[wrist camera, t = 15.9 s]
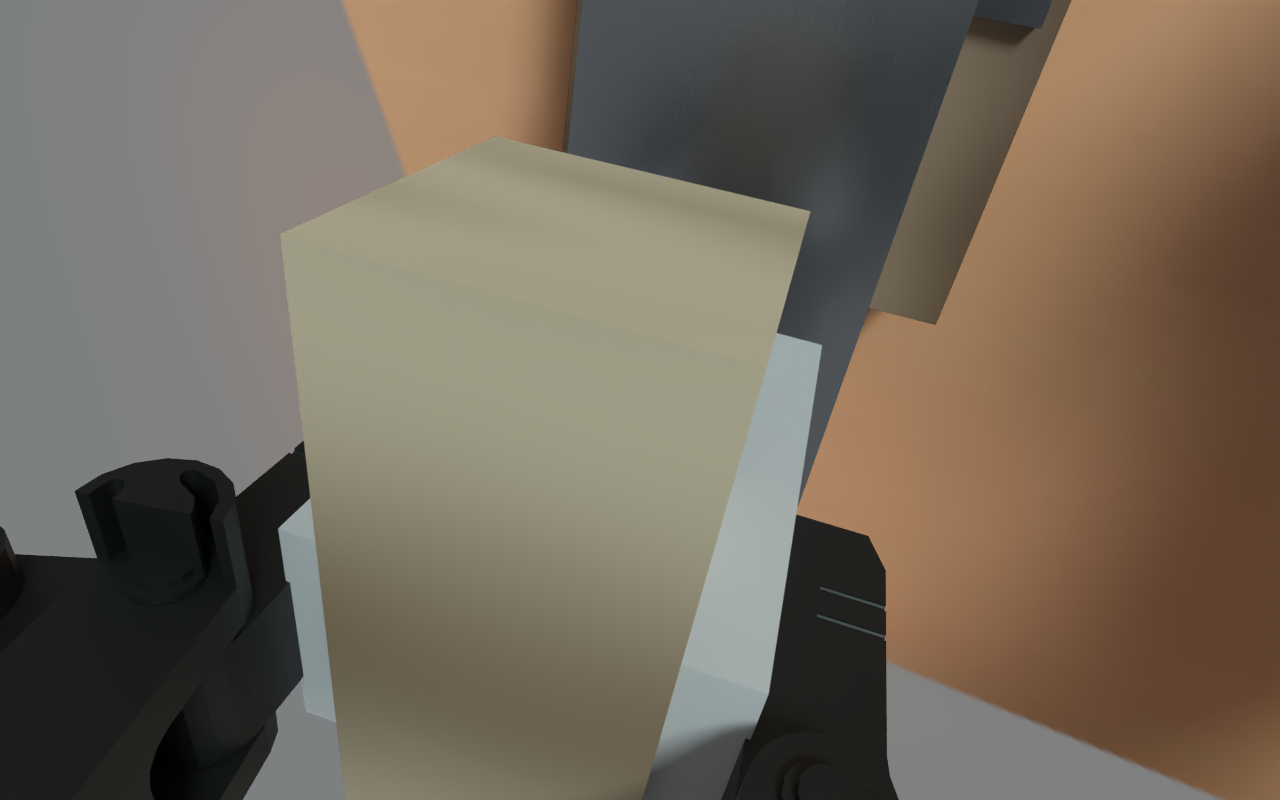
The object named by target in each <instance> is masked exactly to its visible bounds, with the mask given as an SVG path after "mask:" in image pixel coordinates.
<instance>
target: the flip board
mask: <svg viewBox="0 0 1280 800" xmlns="http://www.w3.org/2000/svg"><path fill="white" fill-rule="evenodd" d="M582 2H583V0H577V8H576V18H575V28H574V39H573V49H572V60H571V70H570V80H569V91H568V101H567V112H566V122H565V132H564V143H563V152H564V153H568V142H569V132H570V122H571V112H572V102H573V92H574V82H575V72H576V62H577V52H578V42H579V32H580V22H581V12H582ZM1070 2H1071V0H979V1H978V4H977V7H976V9H975V12H974V15H973V18H972V21H971V23H970V26H969V29H968V32H967V35H966V37H965V40H964V43H963V46H962V49H961V51H960V54H959V57H958V60H957V63H956V65H955V68H954V71H953V74H952V77H951V79H950V82H949V85H948V88H947V91H946V93H945V96H944V99H943V102H942V105H941V107H940V110H939V113H938V116H937V119H936V121H935V124H934V127H933V130H932V133H931V135H930V138H929V141H928V144H927V147H926V149H925V152H924V155H923V158H922V161H921V163H920V166H919V169H918V172H917V175H916V177H915V180H914V183H913V186H912V189H911V191H910V194H909V197H908V200H907V203H906V205H905V208H904V211H903V214H902V217H901V219H900V222H899V225H898V228H897V231H896V233H895V236H894V239H893V242H892V245H891V247H890V250H889V253H888V256H887V259H886V261H885V264H884V267H883V270H882V273H881V275H880V278H879V281H878V284H877V287H876V289H875V292H874V295H873V298H872V301H871V303H870V306H869V308H871V309H875V310H879V311H883V312H887V313H891V314H895V315H899V316H903V317H907V318H910V319H914V320H918V321H922V322H926V323H930V324H934V325H936V323H937V321H938V318H939V316H940V313H941V311H942V309H943V306H944V304H945V301H946V299H947V297H948V294H949V292H950V289H951V287H952V285H953V282H954V280H955V278H956V275H957V273H958V270H959V268H960V266H961V263H962V261H963V258H964V256H965V254H966V251H967V249H968V246H969V244H970V242H971V239H972V237H973V234H974V232H975V230H976V227H977V225H978V222H979V220H980V218H981V215H982V213H983V210H984V208H985V206H986V203H987V201H988V198H989V196H990V194H991V191H992V189H993V187H994V184H995V182H996V179H997V177H998V175H999V172H1000V170H1001V167H1002V165H1003V163H1004V160H1005V158H1006V155H1007V153H1008V151H1009V148H1010V146H1011V143H1012V141H1013V139H1014V136H1015V134H1016V131H1017V129H1018V127H1019V124H1020V122H1021V119H1022V117H1023V115H1024V112H1025V110H1026V107H1027V105H1028V103H1029V100H1030V98H1031V96H1032V93H1033V91H1034V88H1035V86H1036V84H1037V81H1038V79H1039V76H1040V74H1041V72H1042V69H1043V67H1044V64H1045V62H1046V60H1047V57H1048V55H1049V52H1050V50H1051V48H1052V45H1053V43H1054V40H1055V38H1056V36H1057V33H1058V31H1059V28H1060V26H1061V24H1062V21H1063V19H1064V17H1065V14H1066V12H1067V9H1068V7H1069V5H1070Z"/></svg>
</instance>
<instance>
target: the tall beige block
mask: <svg viewBox="0 0 1280 800" xmlns="http://www.w3.org/2000/svg"><path fill="white" fill-rule="evenodd" d="M978 1H979V0H583V2H582V12H581V22H580V32H579V42H578V52H577V62H576V72H575V82H574V92H573V102H572V112H571V122H570V132H569V142H568V153H564V152H559V151H555V150H551V149H547V148H543V147H538V146H534V145H530V144H526V143H522V142H517V141H513V140H509V139H505V138H501V137H496V136H494V137H492V138H490V139H488V140H485V141H483V142H481V143H479V144H477V145H474V146H472V147H470V148H468V149H466V150H463V151H461V152H459V153H457V154H455V155H453V156H450V157H448V158H446V159H444V160H442V161H439V162H437V163H435V164H433V165H431V166H428V167H426V168H424V169H422V170H420V171H418V172H415V173H413V174H411V175H409V176H407V177H404V178H402V179H400V180H398V181H396V182H393V183H391V184H389V185H387V186H385V187H383V188H381V189H378V190H376V191H374V192H372V193H369V194H367V195H365V196H363V197H361V198H358V199H356V200H354V201H352V202H350V203H348V204H345V205H343V206H341V207H339V208H337V209H334V210H332V211H330V212H328V213H326V214H323V215H321V216H319V217H317V218H315V219H313V220H310V221H308V222H306V223H304V224H302V225H299V226H297V227H295V228H293V229H291V230H288V231H286V232H284V233H282V234H280V238H281V247H282V255H283V264H284V272H285V281H286V290H287V298H288V307H289V316H290V324H291V333H292V342H293V351H294V360H295V368H296V377H297V386H298V394H299V403H300V412H301V421H302V429H303V437H304V447H305V455H306V464H307V473H308V482H309V490H310V499H311V508H312V516H313V525H314V534H315V543H316V551H317V560H318V569H319V577H320V586H321V595H322V604H323V612H324V621H325V630H326V638H327V647H328V656H329V664H330V673H331V682H332V691H333V699H334V708H335V717H336V725H337V733H338V743H339V751H340V760H341V769H342V778H343V786H344V795H345V800H642V799H643V795H644V792H645V788H646V785H647V782H648V778H649V775H650V771H651V768H652V764H653V761H654V757H655V754H656V750H657V747H658V743H659V740H660V736H661V733H662V729H663V726H664V723H665V719H666V716H667V712H668V709H669V705H670V702H671V698H672V695H673V691H674V688H675V684H676V681H677V677H678V674H679V670H680V667H681V664H682V660H683V657H684V653H685V650H686V646H687V643H688V639H689V636H690V632H691V629H692V625H693V622H694V618H695V615H696V611H697V608H698V605H699V601H700V598H701V594H702V591H703V587H704V584H705V580H706V577H707V573H708V570H709V566H710V563H711V559H712V556H713V552H714V549H715V546H716V542H717V539H718V535H719V532H720V528H721V525H722V521H723V518H724V514H725V511H726V507H727V504H728V500H729V497H730V493H731V490H732V487H733V483H734V480H735V476H736V473H737V469H738V466H739V462H740V459H741V455H742V452H743V448H744V445H745V441H746V438H747V434H748V431H749V428H750V424H751V421H752V417H753V414H754V410H755V407H756V403H757V400H758V396H759V393H760V389H761V386H762V382H763V379H764V375H765V372H766V369H767V365H768V361H769V358H770V354H771V351H772V347H773V344H774V340H775V336H776V333H778V334H782V335H786V336H790V337H793V338H797V339H801V340H805V341H809V342H812V343H816V344H820V345H822V350H821V356H820V363H819V369H818V376H817V382H816V389H815V395H814V402H813V408H812V415H811V421H810V428H809V434H808V441H807V447H806V454H805V460H804V467H803V473H802V480H801V486H800V493H799V499H798V505H799V502H800V499H801V497H802V494H803V491H804V488H805V485H806V483H807V480H808V477H809V474H810V471H811V469H812V466H813V463H814V460H815V457H816V455H817V452H818V449H819V446H820V443H821V441H822V438H823V435H824V432H825V429H826V427H827V424H828V421H829V418H830V415H831V413H832V410H833V407H834V404H835V401H836V399H837V396H838V393H839V390H840V387H841V385H842V382H843V379H844V376H845V373H846V371H847V368H848V365H849V362H850V359H851V357H852V354H853V351H854V348H855V345H856V343H857V340H858V337H859V334H860V331H861V329H862V326H863V323H864V320H865V317H866V315H867V312H868V309H869V306H870V303H871V301H872V298H873V295H874V292H875V289H876V287H877V284H878V281H879V278H880V275H881V273H882V270H883V267H884V264H885V261H886V259H887V256H888V253H889V250H890V247H891V245H892V242H893V239H894V236H895V233H896V231H897V228H898V225H899V222H900V219H901V217H902V214H903V211H904V208H905V205H906V203H907V200H908V197H909V194H910V191H911V189H912V186H913V183H914V180H915V177H916V175H917V172H918V169H919V166H920V163H921V161H922V158H923V155H924V152H925V149H926V147H927V144H928V141H929V138H930V135H931V133H932V130H933V127H934V124H935V121H936V119H937V116H938V113H939V110H940V107H941V105H942V102H943V99H944V96H945V93H946V91H947V88H948V85H949V82H950V79H951V77H952V74H953V71H954V68H955V65H956V63H957V60H958V57H959V54H960V51H961V49H962V46H963V43H964V40H965V37H966V35H967V32H968V29H969V26H970V23H971V21H972V18H973V15H974V12H975V9H976V7H977V4H978ZM797 508H798V506H797Z"/></svg>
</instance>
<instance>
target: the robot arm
mask: <svg viewBox="0 0 1280 800" xmlns="http://www.w3.org/2000/svg"><path fill="white" fill-rule="evenodd" d="M821 350H822V345H820V344H816V343H812V342H809V341H805V340H801V339H797V338H793V337H790V336H786V335H782V334H778V333H776V336H775V340H774V344H773V347H772V351H771V354H770V358H769V361H768V365H767V369H766V372H765V375H764V379H763V382H762V386H761V389H760V393H759V396H758V400H757V403H756V407H755V410H754V414H753V417H752V421H751V424H750V428H749V431H748V434H747V438H746V441H745V445H744V448H743V452H742V455H741V459H740V462H739V466H738V469H737V473H736V476H735V480H734V483H733V487H732V490H731V493H730V497H729V500H728V504H727V507H726V511H725V514H724V518H723V521H722V525H721V528H720V532H719V535H718V539H717V542H716V546H715V549H714V552H713V556H712V559H711V563H710V566H709V570H708V573H707V577H706V580H705V584H704V587H703V591H702V594H701V598H700V601H699V605H698V608H697V611H696V615H695V618H694V622H693V625H692V629H691V632H690V636H689V639H688V643H687V646H686V650H685V653H684V657H683V660H682V664H681V667H680V670H679V674H678V677H677V681H676V684H675V688H674V691H673V695H672V698H671V702H670V705H669V709H668V712H667V716H666V719H665V723H664V726H663V729H662V733H661V736H660V740H659V743H658V747H657V750H656V754H655V757H654V761H653V764H652V768H651V771H650V775H649V778H648V782H647V785H646V788H645V792H644V795H643V799H642V800H899V799H898V797H897V794H896V792H895V789H894V786H893V784H892V781H891V778H890V775H889V767H888V760H887V726H886V725H887V721H886V720H887V719H886V718H887V716H886V641H884V639H885V635H886V612H885V611H884V609H885V605H886V570H885V568H884V566H883V564H882V562H881V560H880V558H879V556H878V554H877V553H876V551H875V549H874V547H873V545H872V543H871V541H870V539H869V537H868V536H866V535H863V534H859V533H856V532H853V531H849V530H846V529H843V528H839V527H836V526H833V525H829V524H826V523H823V522H819V521H816V520H813V519H809V518H806V517H803V516H799V515H796V512H797V506H798V499H799V493H800V486H801V480H802V473H803V467H804V460H805V454H806V447H807V441H808V434H809V428H810V421H811V415H812V408H813V402H814V395H815V389H816V382H817V376H818V369H819V363H820V356H821ZM75 493H76V496H77V499H78V502H79V505H80V508H81V511H82V514H83V517H84V520H85V523H86V526H87V529H88V532H89V534H90V537H91V540H92V544H93V547H94V550H95V552H96V555H97V558H77V557H58V556H38V555H19V554H18V555H17V554H14V552H13V549H12V547H11V545H10V542H9V540H8V538H7V535H6V533H5V530H3V528H2V527H0V800H243V798H244V796H245V795H246V793H247V791H248V790H249V787H250V786H251V784H252V783H253V781H254V779H255V777H256V776H257V774H258V772H259V771H260V769H261V767H262V766H263V763H264V762H265V760H266V759H267V757H268V755H269V753H270V752H271V749H272V746H273V743H274V740H275V737H276V735H277V732H278V727H277V718H276V710H277V709H278V707H279V706H280V705H281V704H282V702H283V701H284V700H285V699H286V697H287V696H288V695H289V693H290V692H291V691H292V690H293V689H294V688H295V686H296V685H297V684H298V682H299V681H300V680H301V684H302V691H303V698H304V704H305V711H306V712H309V713H312V714H314V715H317V716H320V717H322V718H325V719H328V720H330V721H333V722H336V717H335V708H334V699H333V691H332V682H331V673H330V664H329V656H328V647H327V638H326V630H325V621H324V612H323V604H322V595H321V586H320V577H319V569H318V560H317V551H316V543H315V534H314V525H313V516H312V508H311V499H310V490H309V482H308V473H307V464H306V455H305V447H304V441H303V442H302V443H300V444H299V445H298V446H297V447H296V448H295V450H294V452H293V454H291V453H288V454H287V455H286V456H285V457H284V458H282V459H281V460H280V461H279V462H277V463H276V464H275V465H274V466H273V467H272V468H270V469H269V470H268V471H267V472H266V473H264V474H263V475H262V476H261V477H259V478H258V479H257V480H256V481H255V482H253V483H252V484H251V485H250V486H249V487H247V488H246V489H245V490H244V491H243V492H241V493H240V494H239V495H238V496H237V497H236V496H235V490H234V485H233V482H232V481H231V480H230V479H229V478H228V477H227V476H226V475H225V474H224V473H223V472H222V471H221V470H220V469H218V468H215V467H213V466H210V465H208V464H205V463H202V462H200V461H197V460H183V459H182V460H181V459H169V458H166V459H159V460H152V461H145V462H138V463H133V464H130V465H127V466H124V467H121V468H119V469H116V470H113V471H110V472H107V473H104V474H102V475H100V476H98V477H97V478H95V479H93V480H92V481H90V482H89V483H87V484H85V485H84V486H82V487H81V488H79V489H77V490H76V491H75Z"/></svg>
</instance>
